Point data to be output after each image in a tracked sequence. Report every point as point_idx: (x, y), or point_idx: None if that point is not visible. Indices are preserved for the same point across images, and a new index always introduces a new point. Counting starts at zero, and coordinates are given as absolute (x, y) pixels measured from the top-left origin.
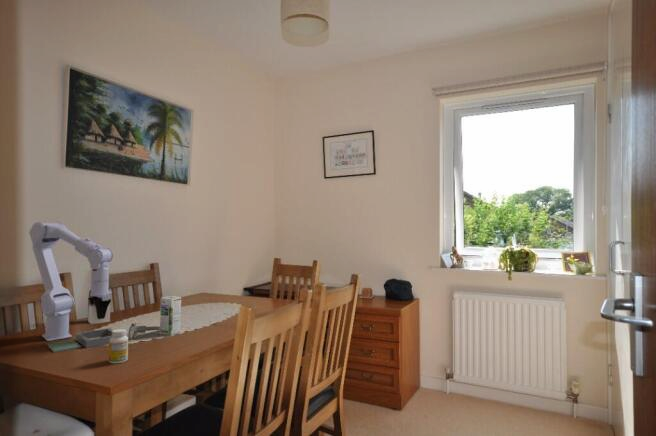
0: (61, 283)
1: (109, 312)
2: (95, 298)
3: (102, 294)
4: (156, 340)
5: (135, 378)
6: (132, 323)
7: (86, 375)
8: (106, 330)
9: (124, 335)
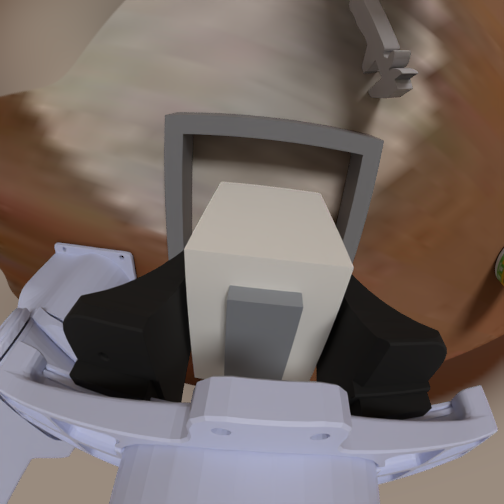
0: None
1: (332, 229)
2: (170, 399)
3: (415, 469)
4: (459, 42)
5: None
6: (406, 72)
7: (496, 327)
8: (185, 136)
9: None
